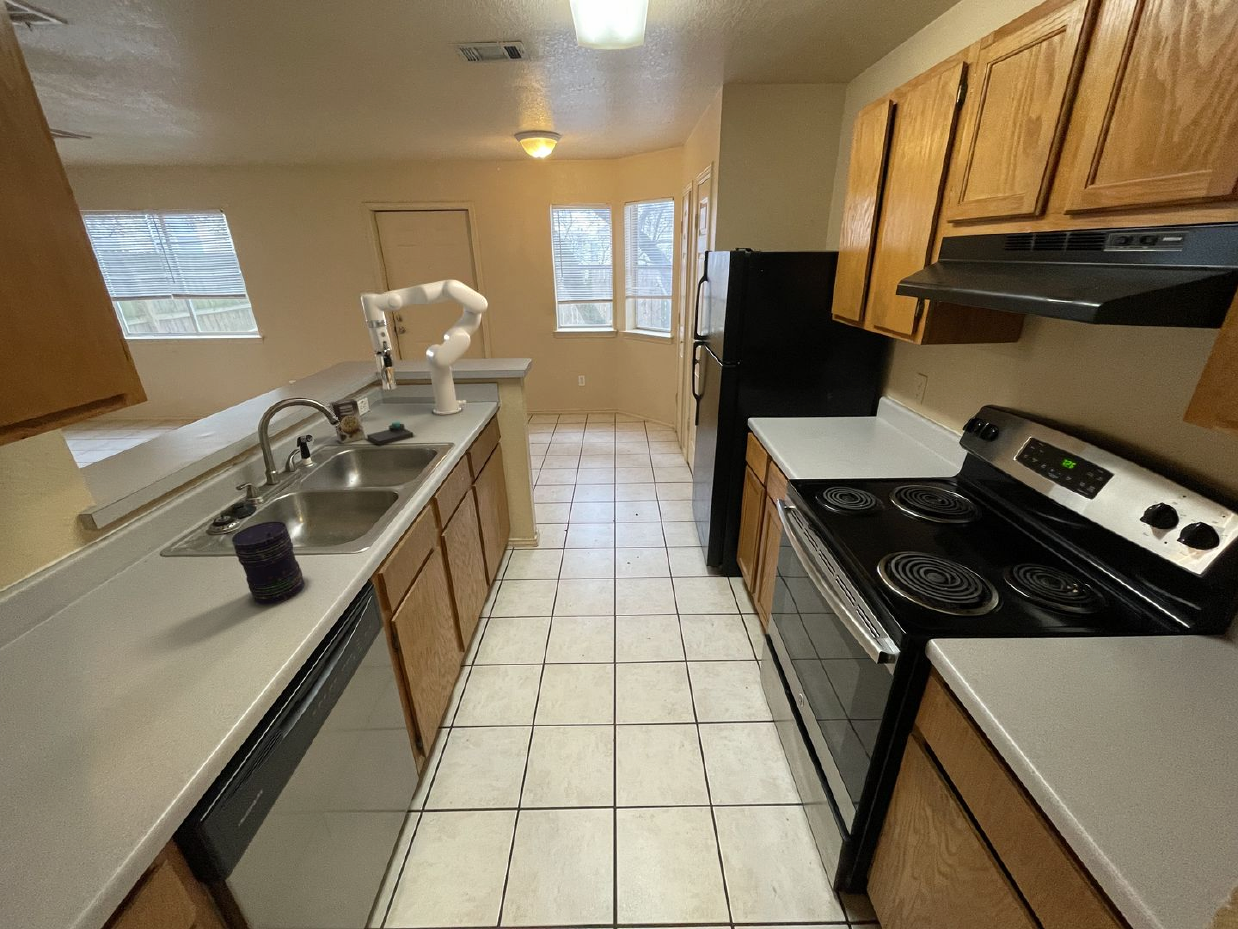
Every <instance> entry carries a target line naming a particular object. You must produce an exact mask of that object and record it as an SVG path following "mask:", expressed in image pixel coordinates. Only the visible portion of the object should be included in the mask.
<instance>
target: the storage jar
mask: <svg viewBox="0 0 1238 929" xmlns="http://www.w3.org/2000/svg"><path fill="white" fill-rule="evenodd" d="M231 542H232V545H233V547H234V550H235V555H236V557H237V558H238V562H239V563H240V565H241V566H242V568H243V570H244V573H245V575H246V577H245V578H246V583H247V585H248V589H249V592H250V593H251V595H252V597H253V601H254V602H255V603H256V604H257V605H260V606H270V605H276V604H280V603H283V602H285V601H288V600H290V599H292V598H294V597H296V596H297V595H298V594H300V593H301V592H302V591H303V590H304V588H305V586H306V583H305V579H304V577H303V572H302V571H303V570H302V568H301V567H300V564H299V561H298V560H297V558H296V556H295V553H294V544H293V542H292V538H291V535H290V534H289V530H288V528H287V525H286V523H285V522H283V521H277V520H276V521H275V520H274V521H264V522H259V523H256V524H253V525H250V526H248V527H245V528H243V529H241V530H240V531H238V532H237V533H235V534H233V536H232V538H231Z"/></svg>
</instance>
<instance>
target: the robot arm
mask: <svg viewBox="0 0 1238 929" xmlns="http://www.w3.org/2000/svg"><path fill="white" fill-rule="evenodd" d="M451 300H452V301H454V302H456V303H457V304H459V305H461V306H462V308H463V313H462V315H461V317H459V319H458V320H457V321H456V322H455V323H454V325H453V326H451V328H449V329H448V330H447V331H446V332H445V334H444V336H443V343H442V344H437V343H436V344H432V345H430V346H429V347H428V348H427V350H426V353H425V357H426V362H427V365H428V370H429V374H430V379H431V385H432V386H431V387H432V390H433V396H434V402H435V408H434V409H433V414H435V415H440V416H441V415H442V416H446V415H453V414H457V413H459V412H461V411H462V407H461V406H462V405H463V406H464V405H466V404H467V401H466V399H463V400H460V399H459V400H458V399H457V396H456V390H455V384H454V377H453V371H452V366H453V365H454V364H455V363H456V362H457V361H458V360H459V359H460V358H461V357H462V356H463V355H464V354H465V353H466V352H467V351H468V349H469V348H470V346H471V337H472V335H473V334H474V333H475V332H476V331H477V330H478V329H479V327H480V324H481V321H482V314H483V313H485V312H486V311H487V309H488V301H487V299H486V298H485V296H483V295H482V294H480V293H479V292H477V291H475V290H474V289H473V288H471V287H469V286H467V285H466V284H464V283H463V282H461V281H460V280H457V279H444V280H440V281H439V280H438V281H433V282H428V283H423V284H418V285H414V286H410V287H403V288H398V289H394V290H389V291H385V292H382V293H381V294H378V293H365V294H363V295H361V304H362V308H363V314H364V317H365V322H366V327H367V329H368V330H369V335H370V340H371V345H372V349H373V350H374V352H375V355H377V354H383V357H384V358H383V361H384V365H385V367H386V368H387V367H392V366H393V365H392V360H391V356H392V353H391V351H393V347H392V343H391V340H390V335H389V332H388V329H387V327H388V326H387V321H386V317H385V312H397V311H399V310H400V309H401V308H406V307H410V306H427V305H432V304H437V303H442V302H447V301H451ZM384 311H385V312H384ZM384 353H385V354H384ZM390 354H391V355H390Z"/></svg>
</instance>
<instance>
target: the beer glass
mask: <svg viewBox="0 0 1238 929" xmlns="http://www.w3.org/2000/svg"><path fill="white" fill-rule="evenodd" d="M384 354H385V353H384ZM390 355H391V360H392V365H393V366H392V367H387V368H386V367H385V365H384V361H383V358H384V357H383V354H377V355H376V354H375V355H374V358H375V365H376V370H377V371H378V374H379V375H380V379H381V382H382V390H383V391H390V390H395V389H398V385H397V383H396V378H395V364H394V359H393V356H392V353H391V354H390Z"/></svg>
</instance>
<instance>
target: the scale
mask: <svg viewBox="0 0 1238 929" xmlns="http://www.w3.org/2000/svg"><path fill="white" fill-rule="evenodd" d="M366 436H367V440H369V441H370V442H372V443H374V444H376V445H377V446H384V445H387V444H392V443H395V442H399V441H402V440H406V439H410V438H414V432H413V431H411V430H408V429H406V428H405V424H404V423H400V426H398V427H393V426H392V424H391V425H389V426H388V429H386V430H382V431H377V432H373V433H369V434H366Z"/></svg>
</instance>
